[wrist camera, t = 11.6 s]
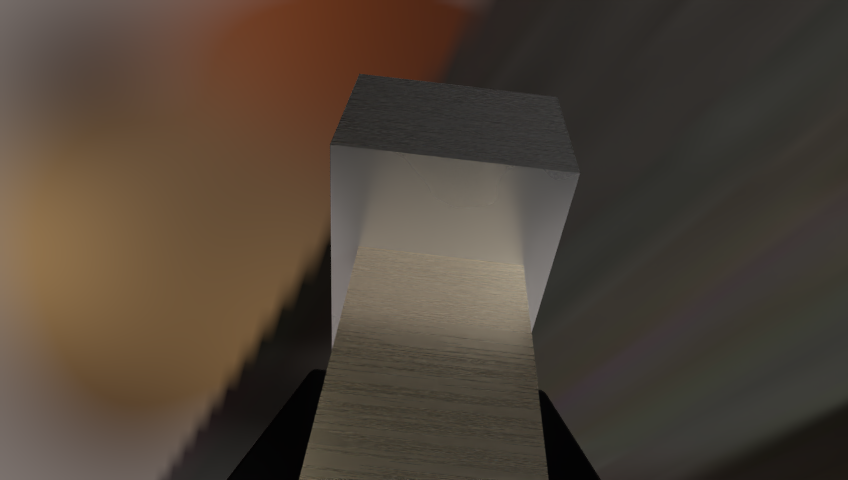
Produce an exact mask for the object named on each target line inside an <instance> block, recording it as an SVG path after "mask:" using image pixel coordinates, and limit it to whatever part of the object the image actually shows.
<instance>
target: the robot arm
mask: <svg viewBox="0 0 848 480" xmlns="http://www.w3.org/2000/svg"><path fill="white" fill-rule="evenodd" d="M326 372H327V370H319V369H314V370H312V371H311V372H310V373H309V374H308V375H307V376H306V377H305V379H304V380H303V381H302V383H301V384H300V385H299V386H298V388H297V389H296V390H295V392H294V393H293V394H292V395H291V397H290V398H289V399H288V401H287V402H286V403H285V405H284V406H283V407H282V408H281V410H280V411H279V412H278V414H277V415H276V416H275V417H274V419H273V420H272V421H271V423H270V424H269V425H268V426H267V428H266V429H265V430H264V432H263V433H262V434H261V435H260V437H259V438H258V439H257V441H256V442H255V443H254V445H253V446H252V447H251V448H250V450H249V451H248V452H247V454H246V455H245V456H244V457H243V459H242V460H241V461H240V463H239V464H238V465H237V466H236V468H235V469H234V470H233V472H232V473H231V474H230V475H229V477H228V478H227V479H226V480H299V478H300V474H301V470H302V466H303V462H304V458H305V454H306V450H307V446H308V442H309V439H310V435H311V431H312V427H313V423H314V419H315V415H316V411H317V407H318V403H319V399H320V395H321V392H322V388H323V384H324V380H325V376H326ZM538 393H539V402H540V410H541V419H542V427H543V436H544V444H545V453H546V462H547V470H548V479H549V480H601V479H600V478H599V476H598V475H597V473H596V472H595V470H594V468H593V467H592V465H591V464H590V462H589V461H588V459H587V457H586V456H585V454H584V453H583V451H582V450H581V448H580V446H579V445H578V443H577V442H576V440H575V439H574V437H573V435H572V434H571V432H570V431H569V429H568V428H567V426H566V424H565V423H564V421H563V420H562V418H561V417H560V415H559V413H558V412H557V410H556V409H555V407H554V406H553V404H552V402H551V401H550V399H549V398H548V396H547V395H546V393H545V392H543V391H542V390H538Z"/></svg>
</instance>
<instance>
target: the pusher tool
mask: <svg viewBox="0 0 848 480" xmlns="http://www.w3.org/2000/svg"><path fill="white" fill-rule="evenodd" d="M579 175H580V171H579V168H578V165H577V161H576V158H575V155H574V151H573V148H572V145H571V141H570V138H569V135H568V132H567V128H566V125H565V122H564V118H563V115H562V112H561V108H560V105H559V102H558V98H557V97H554V96H546V95H537V94H528V93H520V92H511V91H502V90H494V89H485V88H477V87H468V86H459V85H451V84H442V83H433V82H425V81H416V80H408V79H399V78H390V77H381V76H372V75H364V74H359V76H358V79H357V81H356V84H355V86H354V88H353V91H352V93H351V96H350V98H349V100H348V103H347V105H346V108H345V110H344V112H343V115H342V117H341V120H340V122H339V125H338V127H337V129H336V132H335V134H334V136H333V139H332V141H331V144H330V180H331V181H330V182H331V183H330V186H331V296H332V352H331V356H330V360H329V364H328V368H327V372H326V376H325V380H324V384H323V388H322V392H321V395H320V399H319V403H318V407H317V411H316V415H315V419H314V423H313V427H312V431H311V435H310V439H309V442H308V446H307V450H306V454H305V458H304V462H303V466H302V470H301V474H300V478H299V480H549V479H548V470H547V462H546V453H545V444H544V436H543V427H542V419H541V410H540V402H539V393H538V384H537V376H536V367H535V359H534V350H533V341H532V329H533V326H534V323H535V319H536V316H537V313H538V310H539V306H540V303H541V300H542V296H543V293H544V290H545V287H546V283H547V280H548V277H549V273H550V270H551V267H552V264H553V260H554V257H555V254H556V250H557V247H558V244H559V241H560V237H561V234H562V231H563V227H564V224H565V221H566V218H567V214H568V211H569V208H570V204H571V201H572V198H573V195H574V191H575V188H576V185H577V181H578V178H579Z"/></svg>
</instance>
